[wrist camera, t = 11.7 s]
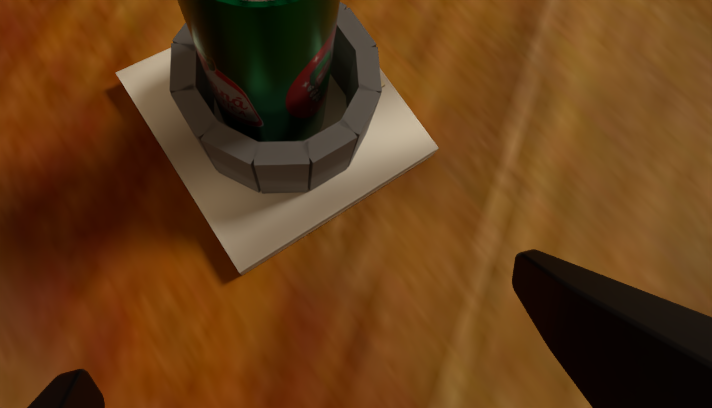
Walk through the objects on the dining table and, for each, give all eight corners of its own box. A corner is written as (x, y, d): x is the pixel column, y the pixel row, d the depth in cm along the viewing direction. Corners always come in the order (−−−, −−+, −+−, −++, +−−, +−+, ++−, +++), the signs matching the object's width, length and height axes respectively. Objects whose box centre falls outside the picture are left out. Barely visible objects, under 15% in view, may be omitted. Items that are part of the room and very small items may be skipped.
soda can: (208, 92, 21) (103, -168, 10) (297, 59, 23) (297, -208, 11) (249, 177, 20) (188, 1, 9) (340, 137, 22) (389, -63, 10)
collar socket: (432, 154, 23) (467, 113, 18) (242, 275, 20) (225, 262, 15) (315, -6, 25) (320, -82, 20) (123, 83, 22) (74, 18, 17)
